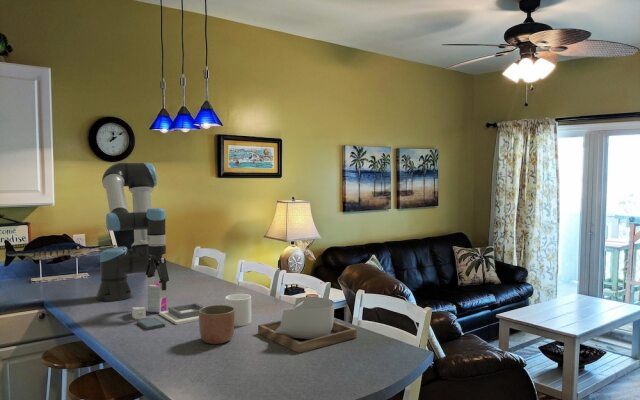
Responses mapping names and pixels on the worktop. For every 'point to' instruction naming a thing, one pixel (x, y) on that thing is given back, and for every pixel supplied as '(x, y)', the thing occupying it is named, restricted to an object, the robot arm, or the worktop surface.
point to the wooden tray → (342, 335)
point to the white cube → (138, 312)
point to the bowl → (308, 318)
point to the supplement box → (155, 299)
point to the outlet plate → (182, 313)
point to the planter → (216, 323)
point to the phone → (150, 323)
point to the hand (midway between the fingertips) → (157, 295)
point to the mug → (240, 308)
